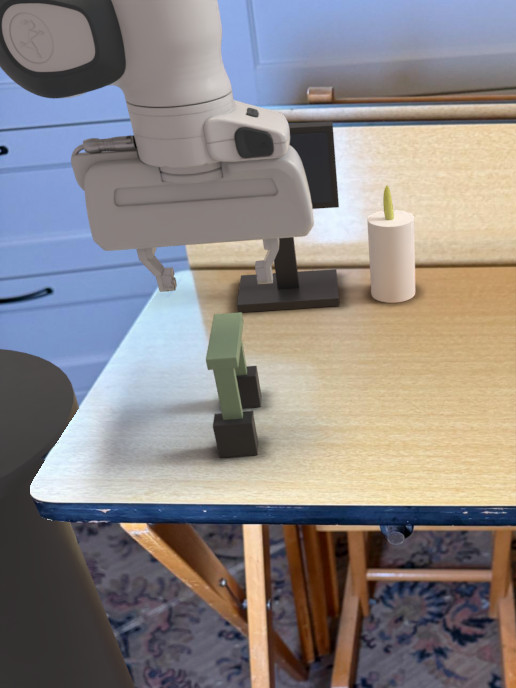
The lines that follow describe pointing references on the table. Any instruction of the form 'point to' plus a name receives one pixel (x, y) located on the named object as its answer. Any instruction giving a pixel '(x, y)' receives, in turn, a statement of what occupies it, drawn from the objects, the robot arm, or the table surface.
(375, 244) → the candle
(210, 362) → the headphones
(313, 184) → the monitor
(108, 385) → the table surface
